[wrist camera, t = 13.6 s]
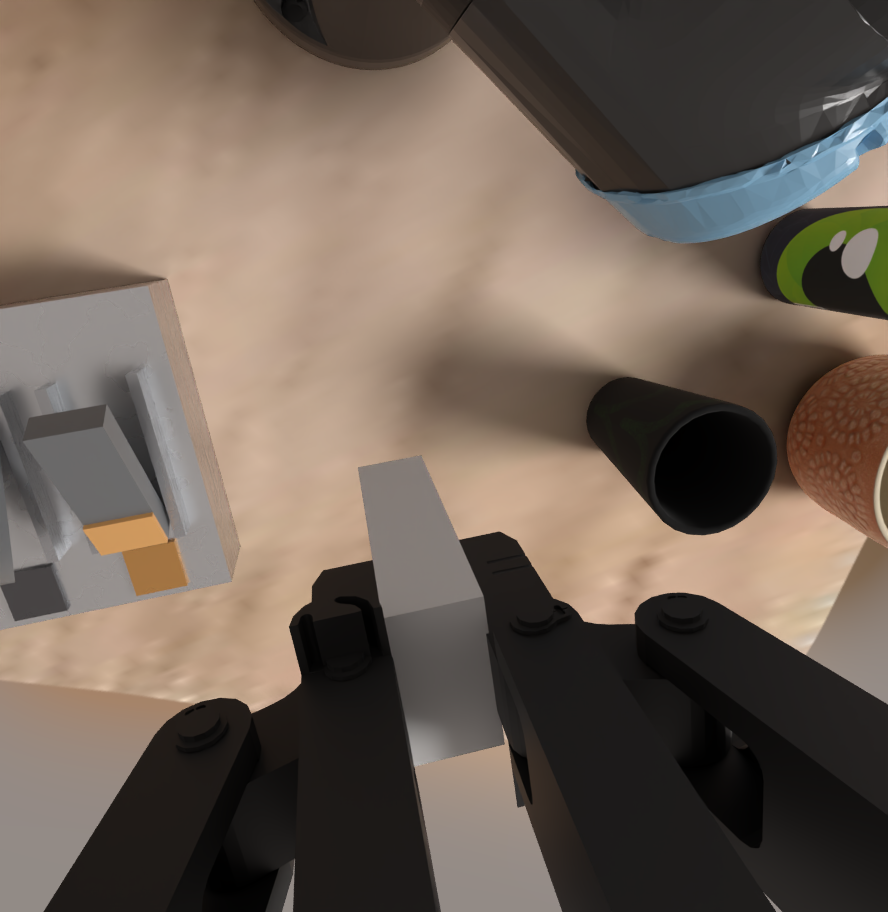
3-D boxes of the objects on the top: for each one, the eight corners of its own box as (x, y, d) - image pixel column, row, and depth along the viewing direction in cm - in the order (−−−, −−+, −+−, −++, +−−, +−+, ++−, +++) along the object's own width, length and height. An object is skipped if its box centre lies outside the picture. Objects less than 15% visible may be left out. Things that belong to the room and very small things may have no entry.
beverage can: (852, 251, 48) (1073, 262, 34) (789, 321, 49) (978, 359, 35) (801, 188, 46) (1013, 171, 32) (735, 262, 47) (914, 278, 33)
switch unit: (-234, 342, 38) (-338, 363, 32) (167, 278, 41) (140, 288, 35) (-102, 615, 45) (-169, 677, 38) (240, 546, 47) (228, 593, 41)
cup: (587, 481, 50) (664, 555, 39) (559, 386, 47) (633, 436, 36) (683, 443, 50) (788, 505, 39) (661, 346, 48) (766, 383, 36)
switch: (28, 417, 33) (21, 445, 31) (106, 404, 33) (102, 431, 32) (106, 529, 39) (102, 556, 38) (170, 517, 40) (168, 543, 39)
